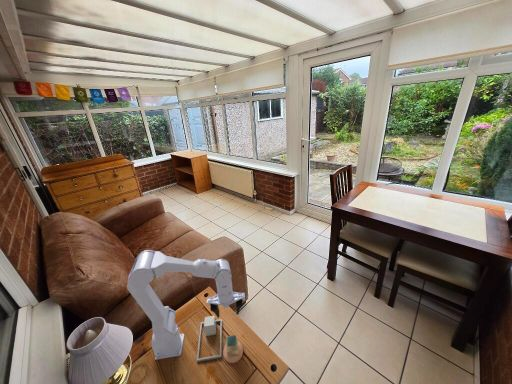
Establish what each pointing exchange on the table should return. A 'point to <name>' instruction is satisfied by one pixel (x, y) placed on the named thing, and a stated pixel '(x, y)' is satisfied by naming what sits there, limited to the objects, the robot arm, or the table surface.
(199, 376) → the table surface
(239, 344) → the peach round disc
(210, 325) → the grey block
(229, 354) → the tan and teal block
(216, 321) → the open rectangular frame
